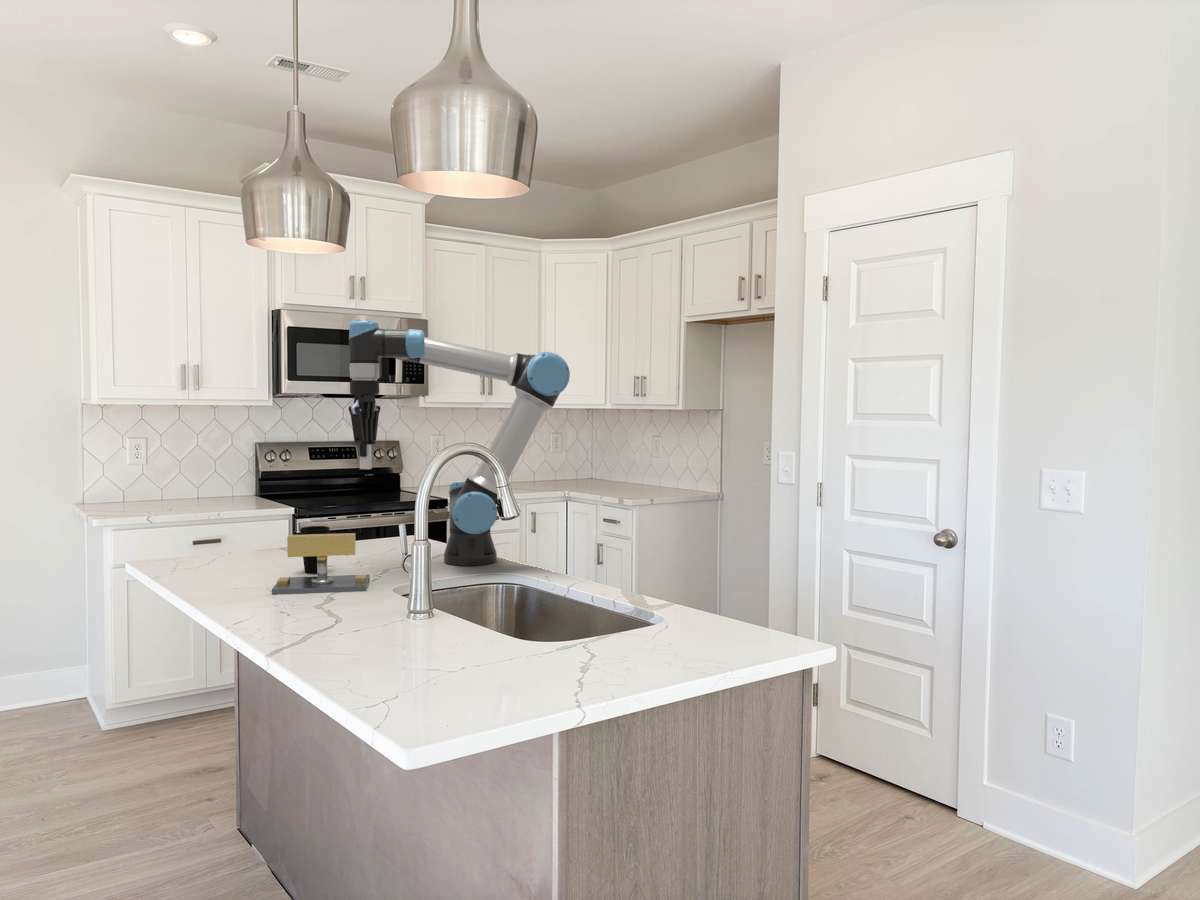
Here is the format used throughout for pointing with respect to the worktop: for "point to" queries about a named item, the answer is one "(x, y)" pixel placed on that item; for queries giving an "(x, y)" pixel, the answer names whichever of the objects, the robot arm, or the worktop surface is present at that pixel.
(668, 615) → the worktop surface
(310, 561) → the cup
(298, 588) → the plate
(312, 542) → the flat gold bar
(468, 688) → the worktop surface
